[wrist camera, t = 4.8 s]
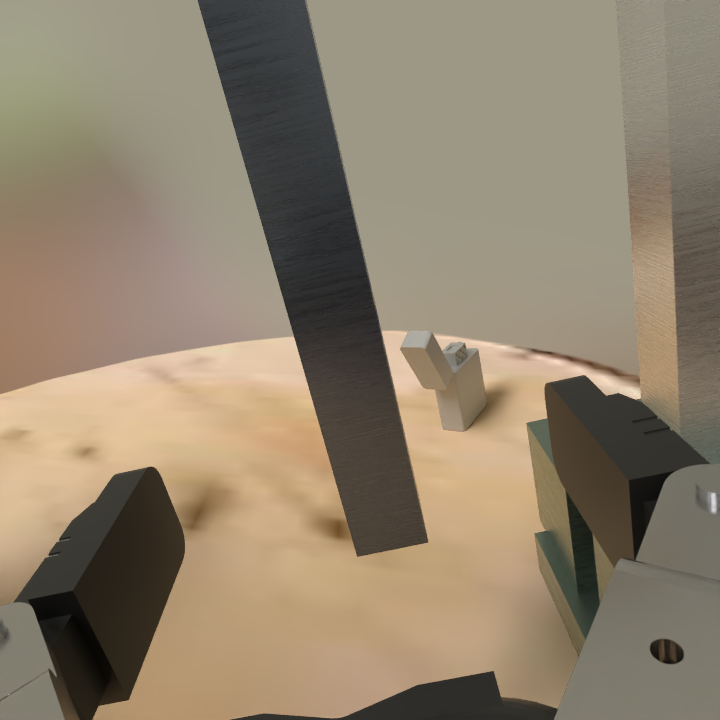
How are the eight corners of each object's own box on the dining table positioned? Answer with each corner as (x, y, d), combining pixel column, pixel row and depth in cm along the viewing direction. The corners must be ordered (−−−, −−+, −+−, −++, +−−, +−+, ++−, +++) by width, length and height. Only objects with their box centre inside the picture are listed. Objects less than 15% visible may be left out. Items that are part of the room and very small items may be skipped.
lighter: (466, 401, 43) (447, 298, 40) (488, 402, 42) (470, 297, 39) (421, 452, 38) (396, 338, 35) (445, 455, 37) (422, 338, 34)
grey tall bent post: (997, 780, 16) (1422, -1033, 6) (327, 893, 17) (-235, -490, 7) (681, 469, 31) (656, -199, 21) (336, 540, 32) (157, -64, 22)
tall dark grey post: (428, 542, 16) (179, -553, 9) (357, 556, 16) (50, -512, 9) (405, 430, 22) (245, -276, 15) (353, 441, 22) (169, -254, 15)
